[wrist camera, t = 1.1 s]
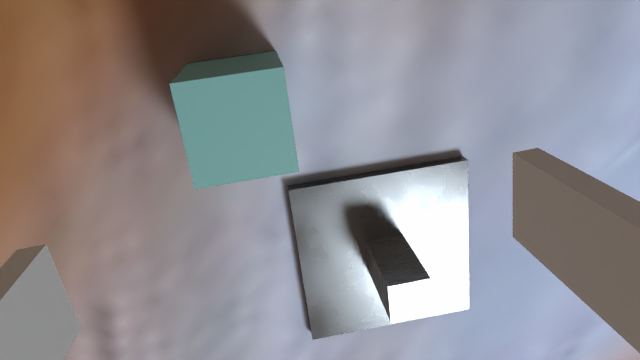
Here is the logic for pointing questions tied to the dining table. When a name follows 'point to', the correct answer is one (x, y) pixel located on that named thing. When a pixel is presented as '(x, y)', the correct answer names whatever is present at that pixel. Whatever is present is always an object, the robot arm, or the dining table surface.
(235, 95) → the teal block
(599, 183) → the robot arm
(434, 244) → the grey square plate
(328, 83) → the dining table surface
